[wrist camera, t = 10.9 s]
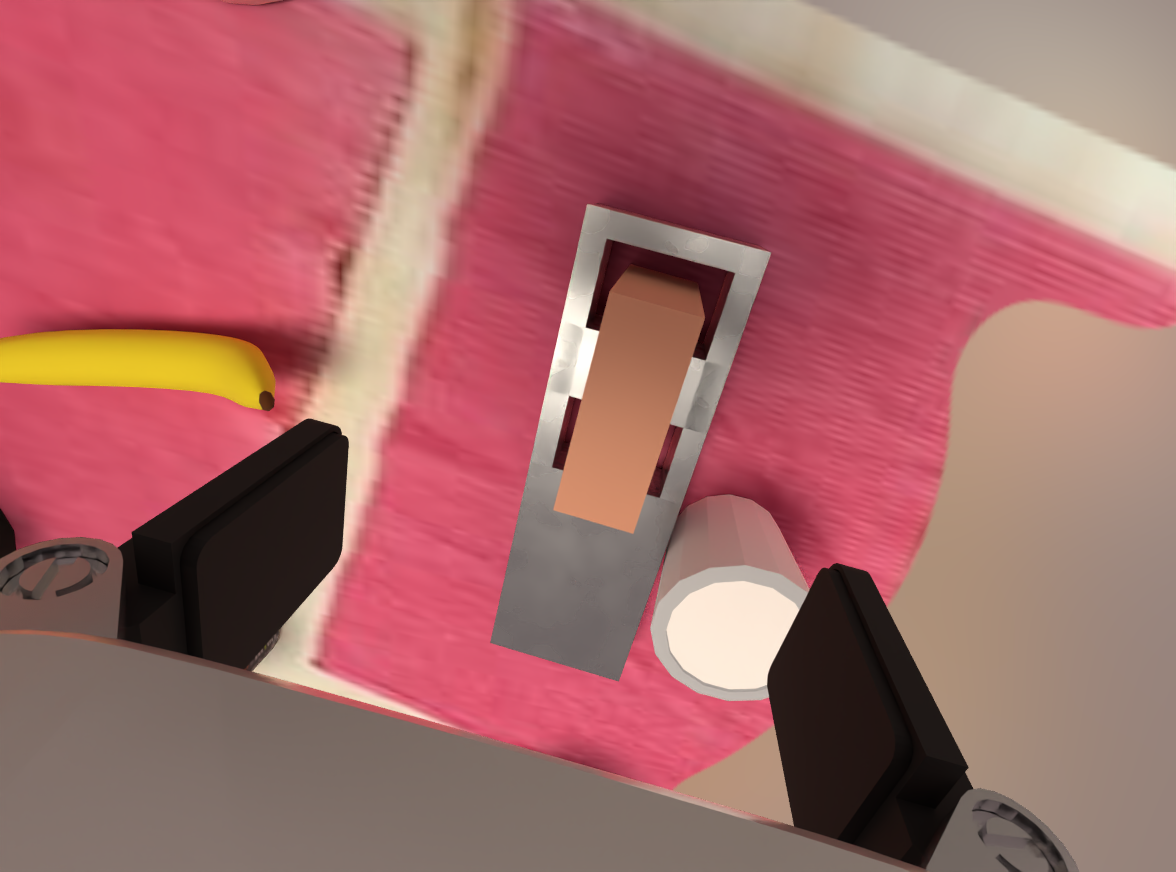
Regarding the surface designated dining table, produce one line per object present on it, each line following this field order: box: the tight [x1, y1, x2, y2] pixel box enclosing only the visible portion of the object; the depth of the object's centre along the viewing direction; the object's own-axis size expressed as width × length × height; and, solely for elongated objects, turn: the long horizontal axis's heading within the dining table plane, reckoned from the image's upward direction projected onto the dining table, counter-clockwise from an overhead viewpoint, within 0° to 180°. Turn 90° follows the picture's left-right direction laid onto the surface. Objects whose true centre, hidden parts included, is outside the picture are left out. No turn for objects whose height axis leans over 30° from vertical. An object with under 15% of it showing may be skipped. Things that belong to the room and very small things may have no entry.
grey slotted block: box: [490, 203, 771, 681], centre depth 27 cm, size 22×7×3 cm, turn 166°
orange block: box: [553, 264, 705, 534], centre depth 23 cm, size 8×3×8 cm, turn 166°
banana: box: [0, 329, 275, 411], centre depth 27 cm, size 3×19×6 cm, turn 89°
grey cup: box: [650, 494, 810, 701], centre depth 26 cm, size 7×7×7 cm
